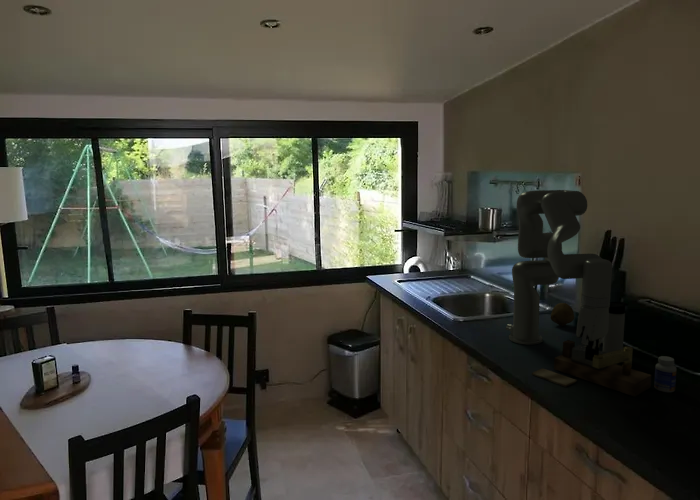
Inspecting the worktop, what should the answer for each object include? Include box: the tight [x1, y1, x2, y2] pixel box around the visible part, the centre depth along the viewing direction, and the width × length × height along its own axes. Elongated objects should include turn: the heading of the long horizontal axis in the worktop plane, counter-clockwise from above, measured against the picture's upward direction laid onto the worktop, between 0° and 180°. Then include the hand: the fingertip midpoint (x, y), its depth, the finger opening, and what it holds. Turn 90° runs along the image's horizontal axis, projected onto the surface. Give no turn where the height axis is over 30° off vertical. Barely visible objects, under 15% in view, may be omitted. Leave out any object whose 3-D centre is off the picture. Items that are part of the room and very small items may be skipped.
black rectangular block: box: [571, 344, 609, 371], centre depth 158 cm, size 10×4×4 cm, turn 35°
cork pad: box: [531, 368, 577, 388], centre depth 158 cm, size 12×6×1 cm, turn 35°
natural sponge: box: [550, 302, 575, 327], centre depth 207 cm, size 9×9×10 cm
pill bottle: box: [653, 355, 678, 393], centre depth 147 cm, size 5×5×10 cm
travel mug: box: [602, 301, 628, 353], centre depth 172 cm, size 6×7×20 cm
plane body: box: [553, 339, 653, 398], centre depth 156 cm, size 26×10×9 cm, turn 35°
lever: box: [592, 345, 634, 375], centre depth 146 cm, size 15×2×9 cm, turn 115°
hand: (591, 359), depth 146 cm, fingers closed
